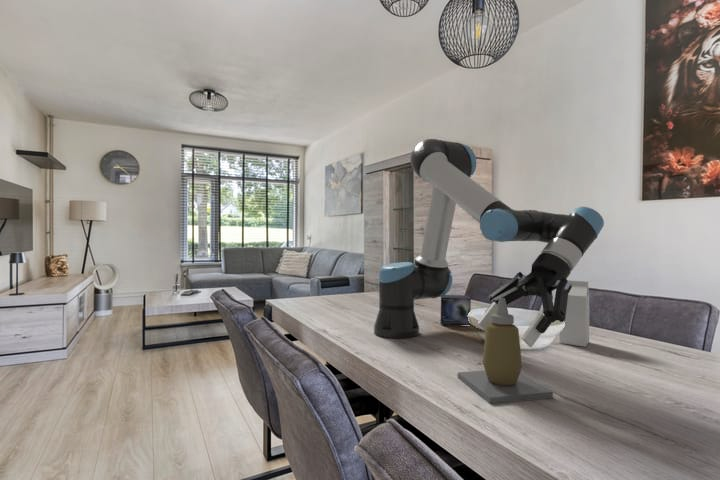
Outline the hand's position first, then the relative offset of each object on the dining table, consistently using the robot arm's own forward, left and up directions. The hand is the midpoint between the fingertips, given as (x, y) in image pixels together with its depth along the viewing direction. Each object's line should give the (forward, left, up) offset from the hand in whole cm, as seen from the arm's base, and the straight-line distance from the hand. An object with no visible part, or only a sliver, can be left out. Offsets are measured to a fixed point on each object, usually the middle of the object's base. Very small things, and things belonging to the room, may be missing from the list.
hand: (502, 334), depth 83 cm
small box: (-57, +16, -12) cm, 61 cm away
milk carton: (-27, +41, -12) cm, 51 cm away
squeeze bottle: (0, 0, -10) cm, 10 cm away
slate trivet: (0, 0, -11) cm, 11 cm away
